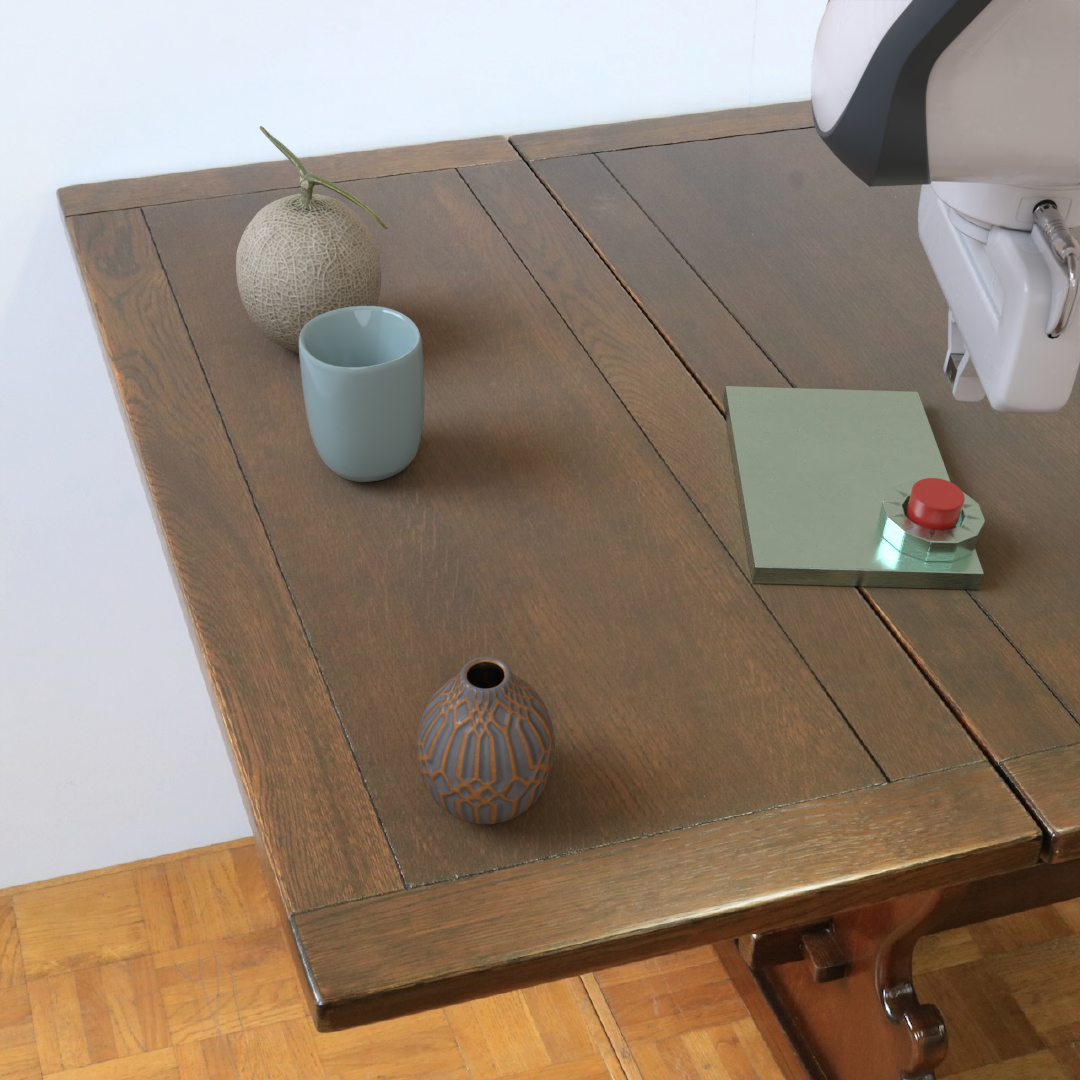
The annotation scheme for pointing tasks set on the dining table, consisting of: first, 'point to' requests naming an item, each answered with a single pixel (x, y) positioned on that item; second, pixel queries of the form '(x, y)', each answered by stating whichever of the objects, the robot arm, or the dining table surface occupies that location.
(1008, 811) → the dining table surface
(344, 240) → the fruit
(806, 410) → the green metallic slab
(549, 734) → the vase
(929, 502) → the button
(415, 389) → the cup
